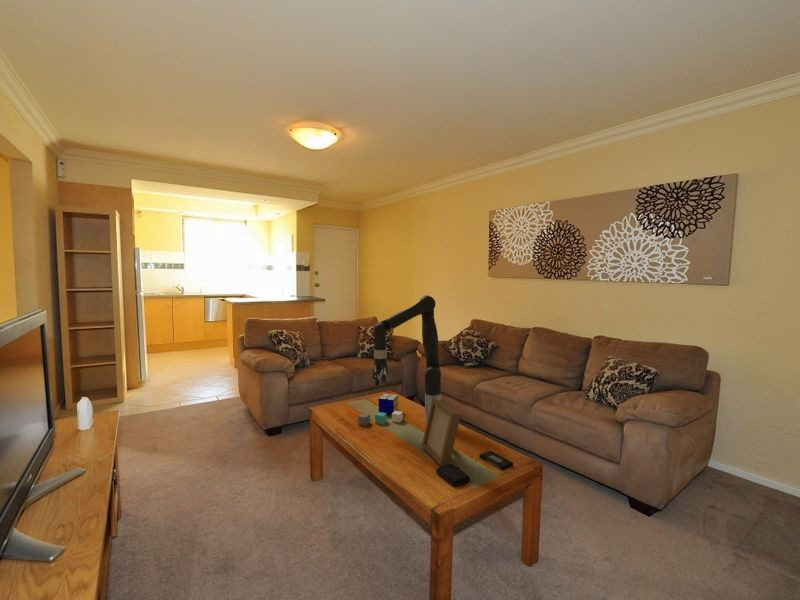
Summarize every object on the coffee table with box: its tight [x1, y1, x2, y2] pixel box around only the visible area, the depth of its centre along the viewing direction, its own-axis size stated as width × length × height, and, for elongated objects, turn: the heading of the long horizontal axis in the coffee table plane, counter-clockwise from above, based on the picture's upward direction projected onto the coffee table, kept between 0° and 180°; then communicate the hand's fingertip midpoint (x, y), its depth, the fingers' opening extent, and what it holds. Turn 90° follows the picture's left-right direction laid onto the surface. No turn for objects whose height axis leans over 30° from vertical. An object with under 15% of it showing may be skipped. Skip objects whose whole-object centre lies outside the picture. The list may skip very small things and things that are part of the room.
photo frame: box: [421, 399, 462, 467], centre depth 192 cm, size 15×22×25 cm
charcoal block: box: [357, 413, 371, 427], centre depth 232 cm, size 5×5×5 cm
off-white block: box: [391, 410, 404, 424], centre depth 237 cm, size 5×5×5 cm
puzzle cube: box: [378, 393, 399, 416], centre depth 251 cm, size 10×10×10 cm
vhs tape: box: [478, 450, 514, 471], centre depth 187 cm, size 8×14×2 cm, turn 32°
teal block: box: [374, 411, 388, 425], centre depth 235 cm, size 5×5×5 cm
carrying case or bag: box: [435, 463, 471, 487], centre depth 173 cm, size 11×3×15 cm
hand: (380, 383), depth 234 cm, fingers open, 8 cm apart
